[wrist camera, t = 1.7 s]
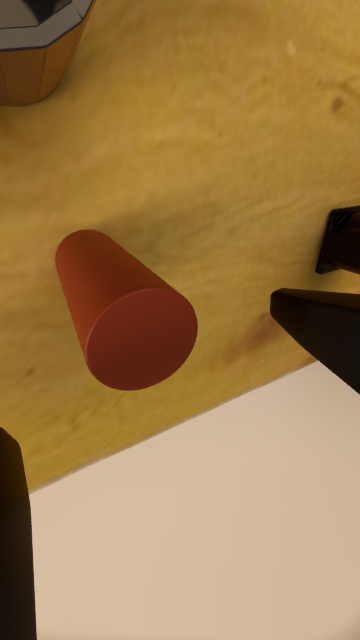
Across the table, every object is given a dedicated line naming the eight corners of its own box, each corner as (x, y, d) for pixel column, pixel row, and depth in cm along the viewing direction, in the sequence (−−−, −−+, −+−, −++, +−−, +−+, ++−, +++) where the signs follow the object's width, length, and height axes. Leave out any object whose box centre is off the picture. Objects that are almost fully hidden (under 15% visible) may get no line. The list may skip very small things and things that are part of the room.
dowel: (115, 225, 16) (199, 276, 8) (124, 285, 18) (197, 369, 10) (46, 234, 14) (70, 305, 7) (64, 297, 16) (98, 407, 9)
